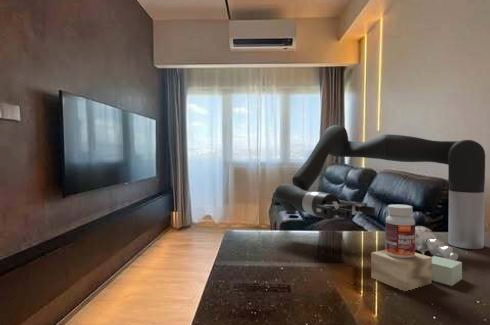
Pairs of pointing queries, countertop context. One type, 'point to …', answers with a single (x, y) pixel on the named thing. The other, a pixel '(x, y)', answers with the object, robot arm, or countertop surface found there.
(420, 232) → the figurine
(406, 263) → the oak block
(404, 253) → the pill bottle
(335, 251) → the countertop surface
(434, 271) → the sage block
